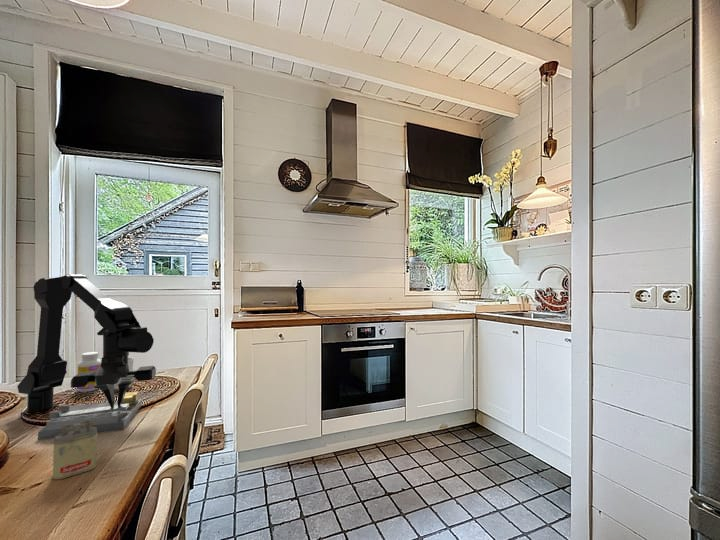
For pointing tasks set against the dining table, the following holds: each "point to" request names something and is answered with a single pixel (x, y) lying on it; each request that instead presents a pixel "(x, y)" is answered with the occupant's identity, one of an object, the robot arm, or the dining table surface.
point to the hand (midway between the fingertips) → (115, 406)
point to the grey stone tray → (100, 421)
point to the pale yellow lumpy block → (130, 398)
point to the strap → (95, 410)
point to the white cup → (130, 364)
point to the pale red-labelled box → (75, 450)
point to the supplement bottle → (88, 368)
